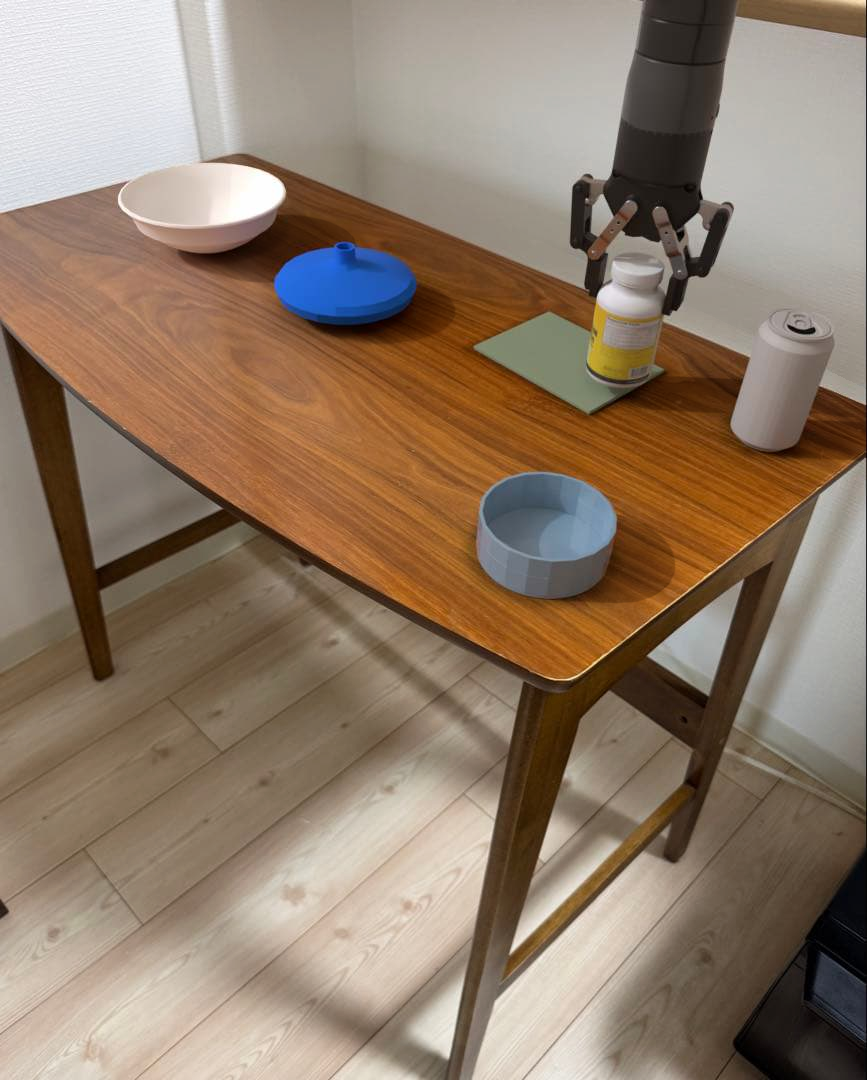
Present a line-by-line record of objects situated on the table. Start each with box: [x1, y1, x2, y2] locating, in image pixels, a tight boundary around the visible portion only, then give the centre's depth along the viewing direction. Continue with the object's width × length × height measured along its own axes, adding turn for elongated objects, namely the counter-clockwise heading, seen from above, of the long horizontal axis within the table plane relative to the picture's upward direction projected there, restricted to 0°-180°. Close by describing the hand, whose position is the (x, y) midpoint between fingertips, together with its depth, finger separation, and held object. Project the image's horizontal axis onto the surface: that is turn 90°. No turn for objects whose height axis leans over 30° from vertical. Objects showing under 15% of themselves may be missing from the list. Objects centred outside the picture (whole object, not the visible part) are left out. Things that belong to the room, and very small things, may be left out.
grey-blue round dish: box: [475, 471, 618, 600], centre depth 71 cm, size 11×11×4 cm
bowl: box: [117, 162, 287, 254], centre depth 111 cm, size 20×20×6 cm
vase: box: [273, 241, 418, 326], centre depth 99 cm, size 16×16×7 cm
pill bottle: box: [586, 251, 666, 388], centre depth 86 cm, size 6×6×12 cm
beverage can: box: [730, 307, 836, 453], centre depth 82 cm, size 6×6×12 cm
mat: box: [473, 310, 665, 415], centre depth 94 cm, size 16×12×1 cm
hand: (631, 302), depth 84 cm, fingers closed on pill bottle, 6 cm apart
